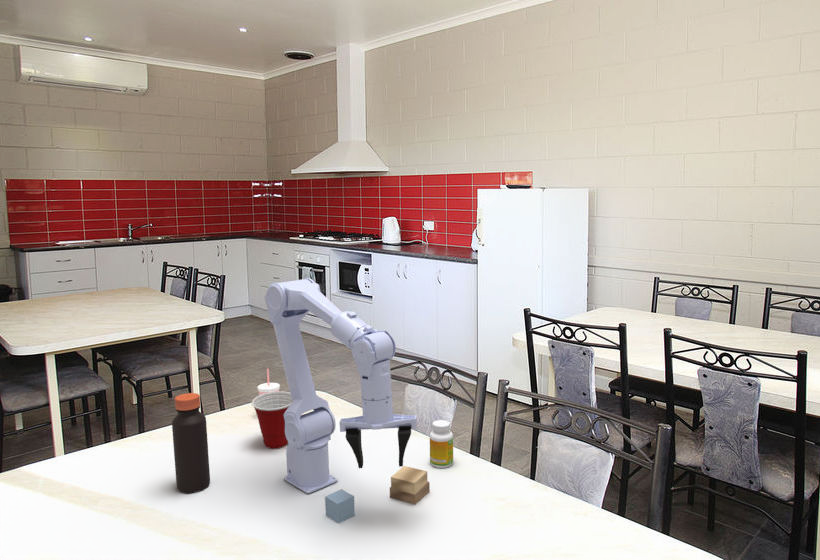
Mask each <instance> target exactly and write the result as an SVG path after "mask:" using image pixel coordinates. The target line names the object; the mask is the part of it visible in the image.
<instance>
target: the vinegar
mask: <svg viewBox="0 0 820 560" xmlns="http://www.w3.org/2000/svg"><path fill="white" fill-rule="evenodd" d="M174 405H175V406H174V407H175V411H176V412H177V414H176V415H175V417H174V418H173V420H171V429H172V441H173V445H172V446H173V456H174V468H175V470H174V472H175V480H176V481H175V482H176V490H178V491H179V493H184V494H192V493H196V492H197V493H198V492H201V491H203V490H205V489H207V488H208V486H210V484H211V473H210V472H211V471H210V457H209V443H208V442H209V441H208V428H207V418H206V416H205V414H204V413H202V412H201V411H200V408H201V397H200V394H199V393H196V392H195V393H194V392H188V393H183V394H179V395H177V396H175V398H174Z"/></svg>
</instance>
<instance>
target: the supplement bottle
mask: <svg viewBox="0 0 820 560" xmlns="http://www.w3.org/2000/svg"><path fill="white" fill-rule="evenodd" d="M431 427H432V431H430V433H429V464H430V465H431V466H432V467H434V468H437V469H446V468H450V467H452V466H453V464H454V433H453V432H452V431H451V430H450V429H451V423H450V422H449V421H448V420H444V419H439V420H434V421H433V422H432V425H431Z"/></svg>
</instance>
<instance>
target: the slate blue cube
mask: <svg viewBox="0 0 820 560" xmlns="http://www.w3.org/2000/svg"><path fill="white" fill-rule="evenodd" d="M324 503H325V505H324V506H325V507H324V508H325V516H326V517H328V518H329V519H331V520H333V521H334V522H336V523H337V524H340V523H342V522H344V521H345V520H348V519H350V518H352V517H354V516H355V515H356V510H355V495H353V494H351V493H349V492H347V491H346V490H345V489H342V488H341V489H339V490H336V491H334V492H332V493H330V494H328V495H325V496H324Z"/></svg>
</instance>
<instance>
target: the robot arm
mask: <svg viewBox="0 0 820 560" xmlns="http://www.w3.org/2000/svg"><path fill="white" fill-rule="evenodd" d="M265 293H266V294H265V295H264V300H265V304H266V309H267V314H268V316H269V317H268V318H269V320H270V321H269V322H270V323H271V324H272V325H273V329H274V333H275V334H274V335H275V338H276V341H277V346H278V350H279V354H280V359H281V362H282V366H283V369H284V374H285V377H286V382H287V386H288V391H289V393H290V395H291V399H292V403H291V404H290V406H289V407H288V409H287V410H286V411H285V413H284V419H285V436H286V438H287V440H288V444H287V445H286V446H287V447H286V451H285V454H286V456H285V458H286V476H284V477H283V480H284V481H286V482H288V483H289V484H291V485H293V486H294V487H296V488H297V489H299V490H300V491H302V492H304V493H306V494H310V493H313V492H316V491H319V490H321V489H323V488H325V487H328V486H330V485H333V484H334V483H336V482H338V478H336V477H335V476H333V475H331V474H330V460H329V459H330V458H329V441H331V439H332V438H331V436H332V435H333V434H334V432H335V430H336V426H337V425H336V424H337V423H336V418H335V416H334V414H333V412H332V411H331V409H330V406H329V402H328V401H327V400H326V399H324V398H322V397H320V396H319V395H318V394H317V392H316V387H315V383H314V380H313V376H312V372H311V371H312V370H311V368H310V364H309V360H308V356H307V352H306V348H305V344H304V340H303V336H302V332H301V327H300V324H301V322H302V320H303V319H304V318H306V316H307V315H308V314H309V313H311V314H313V315H314V316H316V317H317V318H319V319H321V320H322V321H323V322H324V323H326V324H327V325H329V326H330V332H331V334H332V336H333V337H335V338H336V339H337V340H338V341H340V342H341V343H342V344H343V345H345V346H346V347H347V348H348V349H350V350H351V355H352V358H353V360H354V362H355V364H356V368H357V369H356V370H357V371H356V372H357V373H358V375H359V376H360V390H361V393H360V394H361V406H362V408H361V409H362V415H359V416H354V417H353V416H352V417H347V418H340V420H339V432H340V433H344V432H345V439H346V441H347V443H348V444H349V446H350V448H351V449H352V452H353V454H354V456H355V459H356V462H357V465H358V466H357V467H358V469H363V467H364V466H363V465H364V454H363V448H362V430H363V431H364V430H365V431H366V430H376V431H377V430H383V429H398V430H397V441H398V467H401V468H402V467H403V466H404V457H405V452H406V449H407V445H408V442H409V440H410V438H411V436H412V430H413V429H418V421H417V420H418V419H417V414H414V415H413V414H412V415H408V414H396V413H395V414H394V410H393V409H394V407H393V392H392V391H393V390H392V374H391V359H392V358H394V356H395V354H396V349H397V348H396V347H397V346H396V341H395V339H394V338H393V336H392V335H391V333H389V331H388V330H385V329H380V330H378V329H374V327H372V325H369V324H367V323H366V322H365V321H364V320H363V319H361V318H360V317H358V314H357V313H356V312H355V311H349V310H348V311H347V310H346V311H342V310H341V309H339V308H338V307H337V306H336V304H334V303H333V302H332V301H331V300H330V299H329V298H327V297H326V296H325V295H324V294H323V293H322V292H321V287H320V284H319V283H317V282H315V281H314V280H313V279H311V278H310V277H305V278H302V279H296V280H290V281H282V282H272V283H270V284H269V286H268V288H267V290H266V292H265Z"/></svg>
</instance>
